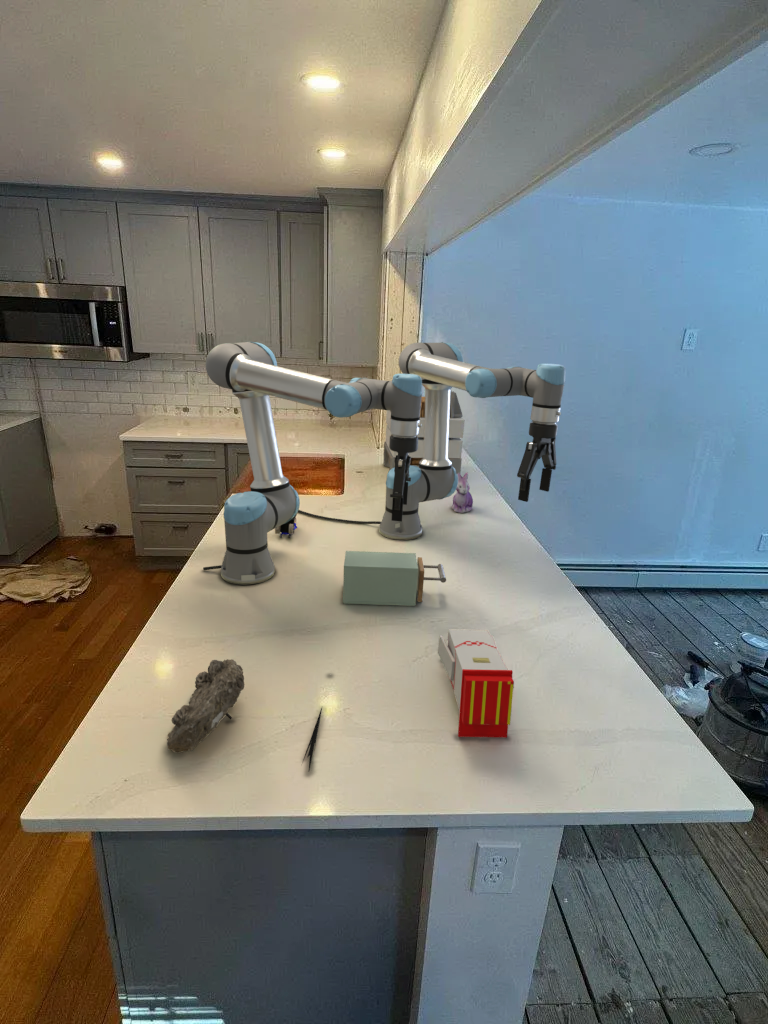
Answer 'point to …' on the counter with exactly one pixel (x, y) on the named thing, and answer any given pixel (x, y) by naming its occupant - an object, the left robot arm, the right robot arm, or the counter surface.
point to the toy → (478, 682)
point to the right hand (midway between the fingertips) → (533, 495)
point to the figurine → (462, 495)
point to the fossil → (206, 705)
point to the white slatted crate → (453, 442)
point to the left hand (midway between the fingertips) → (399, 512)
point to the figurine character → (287, 528)
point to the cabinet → (380, 578)
